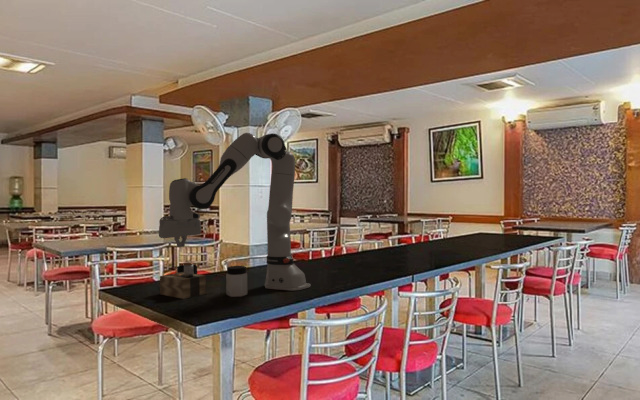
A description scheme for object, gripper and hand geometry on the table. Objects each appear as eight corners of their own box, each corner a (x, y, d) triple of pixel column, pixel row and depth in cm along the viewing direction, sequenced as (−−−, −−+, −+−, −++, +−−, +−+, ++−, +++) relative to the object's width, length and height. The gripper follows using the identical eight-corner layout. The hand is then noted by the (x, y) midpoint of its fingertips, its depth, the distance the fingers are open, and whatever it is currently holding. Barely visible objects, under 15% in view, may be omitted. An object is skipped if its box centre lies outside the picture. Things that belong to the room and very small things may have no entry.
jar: (247, 292, 206) (247, 265, 206) (246, 296, 198) (246, 268, 198) (227, 293, 205) (227, 265, 205) (225, 297, 197) (225, 268, 197)
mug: (181, 288, 216) (181, 269, 216) (174, 284, 226) (174, 265, 226) (201, 286, 221) (201, 267, 221) (194, 282, 231) (193, 264, 231)
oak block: (205, 293, 204) (205, 275, 204) (183, 298, 195) (183, 279, 194) (182, 289, 214) (182, 272, 213) (160, 294, 204) (159, 276, 204)
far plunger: (184, 291, 207) (183, 274, 207) (176, 292, 203) (176, 275, 203) (178, 290, 209) (177, 273, 209) (170, 291, 206) (170, 274, 206)
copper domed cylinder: (195, 279, 202) (195, 262, 202) (188, 281, 199) (187, 263, 199) (189, 278, 205) (189, 261, 204) (181, 280, 201) (181, 263, 201)
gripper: (164, 216, 194) (165, 249, 195) (202, 214, 211) (203, 244, 211) (155, 216, 198) (155, 249, 198) (193, 214, 215) (194, 244, 215)
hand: (180, 246), depth 205 cm, fingers closed
